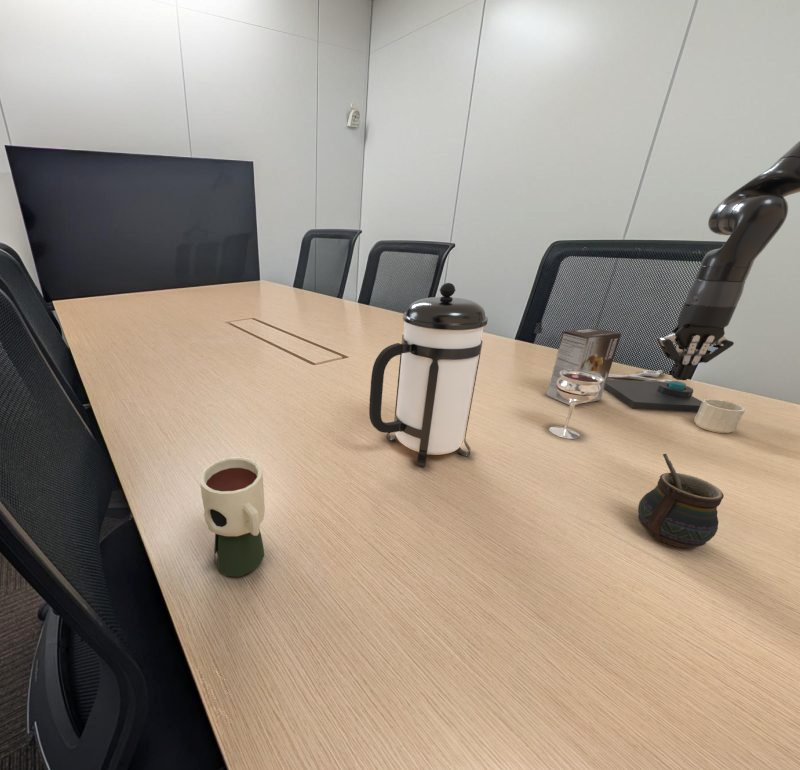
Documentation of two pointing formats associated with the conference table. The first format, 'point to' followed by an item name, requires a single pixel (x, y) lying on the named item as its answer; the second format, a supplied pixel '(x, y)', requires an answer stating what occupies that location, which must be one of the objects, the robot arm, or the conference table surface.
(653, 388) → the scale
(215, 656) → the conference table surface
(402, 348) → the coffee press
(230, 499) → the character mug
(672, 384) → the tare button
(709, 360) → the robot arm
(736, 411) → the bowl
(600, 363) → the coffee box
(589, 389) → the wineglass
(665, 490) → the mate gourd
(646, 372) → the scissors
